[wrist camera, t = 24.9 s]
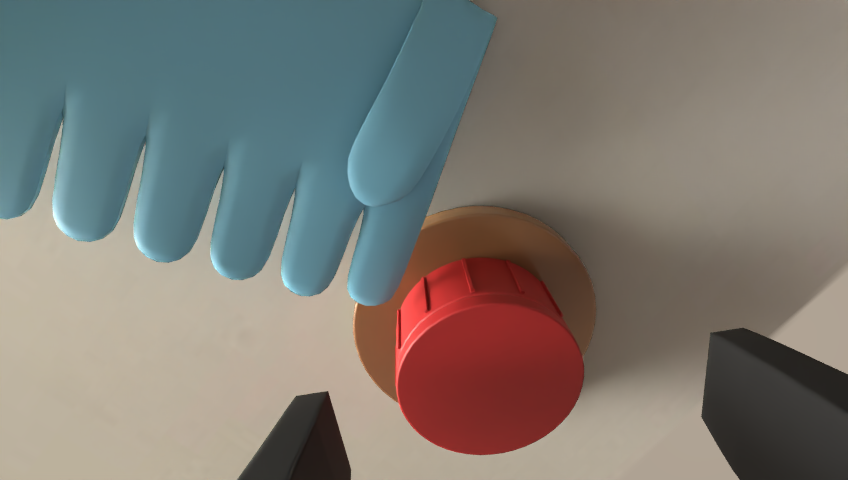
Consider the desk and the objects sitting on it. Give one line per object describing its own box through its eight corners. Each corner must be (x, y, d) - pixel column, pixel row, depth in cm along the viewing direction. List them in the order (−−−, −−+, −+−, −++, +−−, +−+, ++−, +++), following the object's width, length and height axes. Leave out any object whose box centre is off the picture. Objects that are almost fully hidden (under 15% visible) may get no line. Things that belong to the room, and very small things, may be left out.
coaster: (636, 289, 12) (647, 302, 12) (488, 437, 14) (491, 454, 14) (451, 154, 11) (454, 161, 10) (309, 341, 12) (306, 355, 12)
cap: (567, 259, 11) (603, 307, 9) (540, 392, 13) (566, 456, 11) (400, 252, 11) (400, 300, 9) (393, 389, 12) (392, 455, 10)
